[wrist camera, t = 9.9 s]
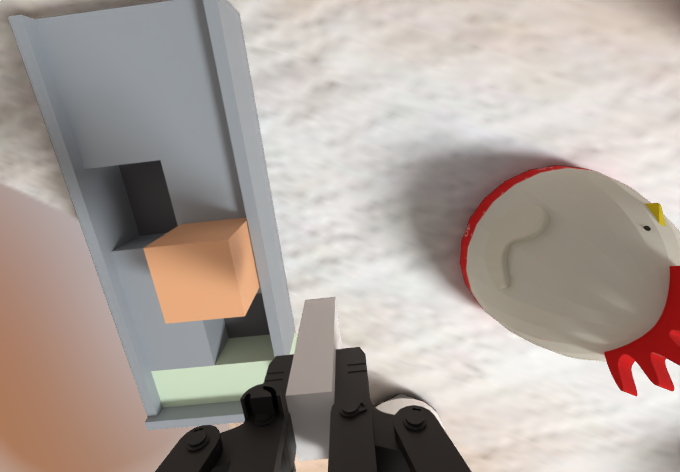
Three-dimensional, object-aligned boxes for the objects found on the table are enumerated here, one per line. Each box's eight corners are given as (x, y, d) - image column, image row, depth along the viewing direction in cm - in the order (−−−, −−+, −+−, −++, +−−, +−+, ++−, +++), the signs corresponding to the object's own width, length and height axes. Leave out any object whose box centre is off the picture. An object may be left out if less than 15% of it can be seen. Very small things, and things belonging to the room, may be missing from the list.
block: (180, 224, 26) (143, 248, 21) (249, 216, 25) (228, 239, 21) (196, 287, 27) (165, 323, 22) (262, 281, 27) (244, 316, 22)
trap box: (70, 35, 25) (-1, 14, 20) (239, 12, 25) (211, -16, 20) (176, 383, 35) (147, 430, 29) (302, 371, 34) (294, 417, 29)
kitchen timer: (663, 205, 29) (975, 288, 15) (568, 341, 33) (739, 511, 19) (513, 137, 27) (696, 157, 13) (431, 288, 31) (504, 429, 17)
